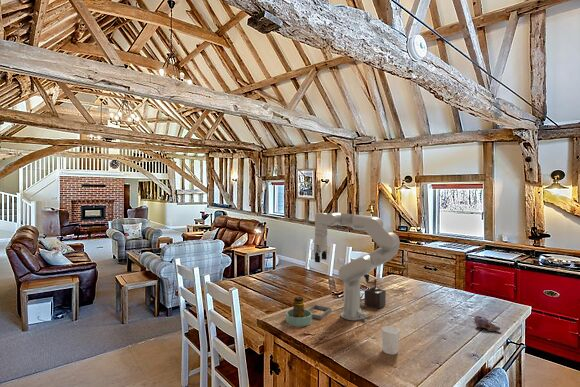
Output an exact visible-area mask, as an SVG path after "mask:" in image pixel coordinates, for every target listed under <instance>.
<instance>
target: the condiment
mask: <svg viewBox="0 0 580 387" xmlns="http://www.w3.org/2000/svg"><path fill="white" fill-rule="evenodd" d="M292 309H293V317H296V318H303V317H304V309H305V302H304V297H302V296H294V298H293V306H292Z"/></svg>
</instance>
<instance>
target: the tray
mask: <svg viewBox="0 0 580 387" xmlns="http://www.w3.org/2000/svg"><path fill="white" fill-rule="evenodd" d="M306 309H307V310H309V311H311V312H312V311H313V310H314V309H315V310H316V309H317V310H323V311H324V312H323V313H322V314H321V315H320V314H319V315H318V314H314V313H312V319H316V320H320V321H321V320H322V319H323V318H325V317H326V316H328V314H330V313H331V312H332V307H328V306H323V305H319V304H312V306H310V307H309V308H306Z"/></svg>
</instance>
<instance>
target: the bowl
mask: <svg viewBox="0 0 580 387" xmlns="http://www.w3.org/2000/svg"><path fill="white" fill-rule="evenodd" d="M307 309H308V308H306V309H305V308H304V317H303V318H296V317H293V308H290V309H288V310H287V311H286V312H285V322H286V324H288V325H289V326H293V327H308V326H310V325H312V323H313V318H312V314H313V313H312V311H309V310H307Z"/></svg>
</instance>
